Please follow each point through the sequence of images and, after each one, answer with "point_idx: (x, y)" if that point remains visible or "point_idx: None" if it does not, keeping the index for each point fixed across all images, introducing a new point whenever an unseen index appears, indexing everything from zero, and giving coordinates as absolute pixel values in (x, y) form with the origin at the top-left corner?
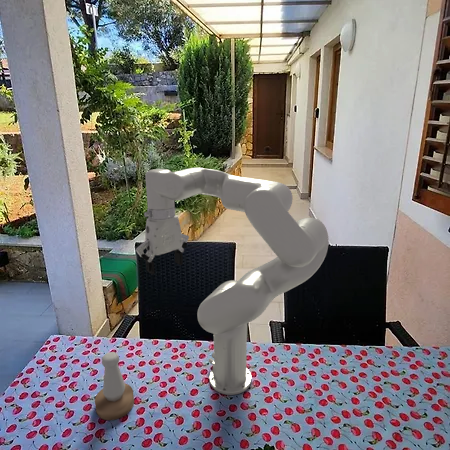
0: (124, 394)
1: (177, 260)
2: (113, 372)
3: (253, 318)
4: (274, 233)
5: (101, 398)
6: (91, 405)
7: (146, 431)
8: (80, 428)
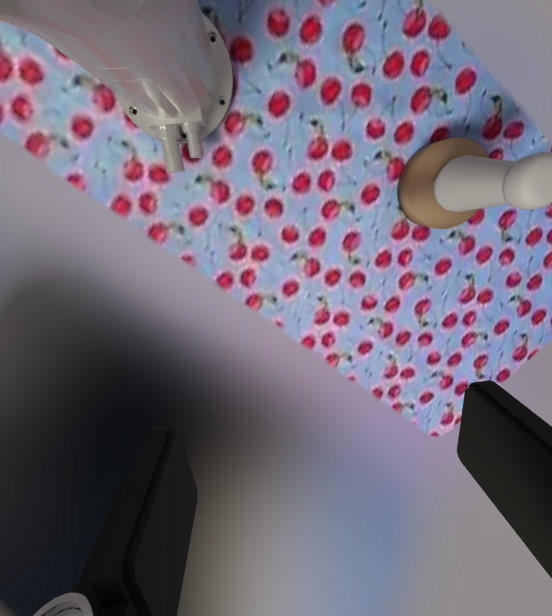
0: (431, 175)
1: (181, 493)
2: (512, 162)
3: None
4: None
5: None
6: None
7: (425, 61)
8: None
